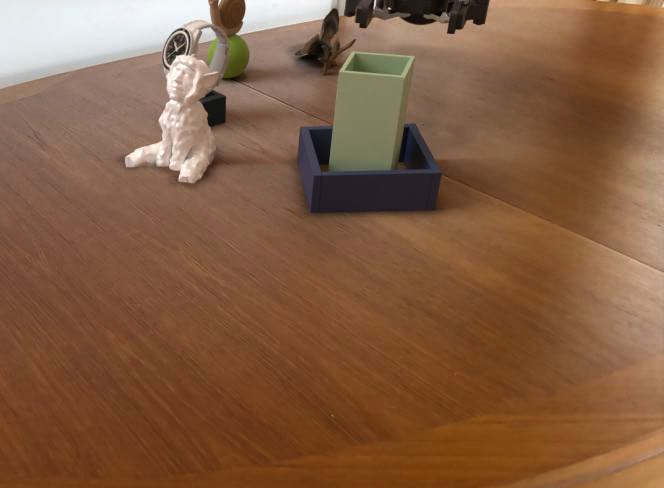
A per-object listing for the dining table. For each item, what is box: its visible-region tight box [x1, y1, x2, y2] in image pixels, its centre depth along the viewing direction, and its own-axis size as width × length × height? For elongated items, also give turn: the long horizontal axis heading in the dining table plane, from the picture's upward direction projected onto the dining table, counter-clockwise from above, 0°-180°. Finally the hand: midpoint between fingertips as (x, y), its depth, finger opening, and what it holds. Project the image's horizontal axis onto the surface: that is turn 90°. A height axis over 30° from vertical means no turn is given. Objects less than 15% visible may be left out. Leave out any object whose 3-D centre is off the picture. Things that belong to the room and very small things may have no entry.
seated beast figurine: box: [124, 55, 219, 184], centre depth 91 cm, size 10×9×12 cm
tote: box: [296, 123, 443, 214], centre depth 87 cm, size 12×12×5 cm
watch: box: [161, 19, 230, 128], centre depth 102 cm, size 6×8×11 cm
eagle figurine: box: [294, 7, 357, 76], centre depth 117 cm, size 8×7×9 cm
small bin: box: [327, 50, 416, 172], centre depth 84 cm, size 6×6×12 cm
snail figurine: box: [207, 0, 250, 79], centre depth 113 cm, size 5×6×12 cm
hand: (406, 20), depth 87 cm, fingers open, 8 cm apart
